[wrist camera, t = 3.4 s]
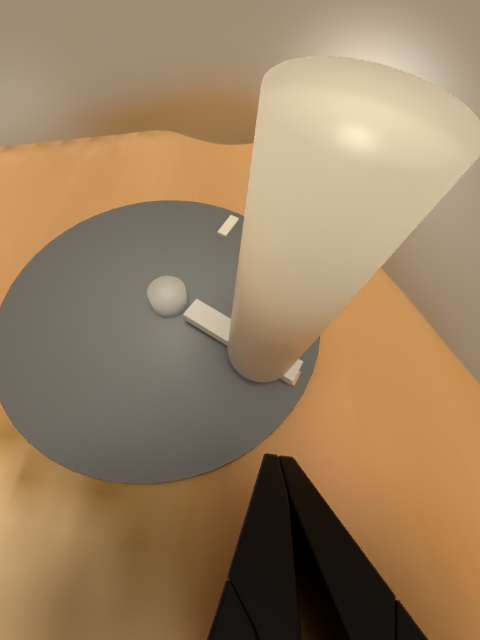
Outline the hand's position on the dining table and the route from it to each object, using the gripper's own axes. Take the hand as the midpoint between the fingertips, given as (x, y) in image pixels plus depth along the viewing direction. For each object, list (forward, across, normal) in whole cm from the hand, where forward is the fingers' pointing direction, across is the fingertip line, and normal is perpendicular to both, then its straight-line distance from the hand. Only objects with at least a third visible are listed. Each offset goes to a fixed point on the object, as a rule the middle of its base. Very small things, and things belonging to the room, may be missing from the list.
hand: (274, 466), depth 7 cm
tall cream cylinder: (+9, +1, 0) cm, 9 cm away
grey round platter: (+12, +6, -1) cm, 13 cm away
